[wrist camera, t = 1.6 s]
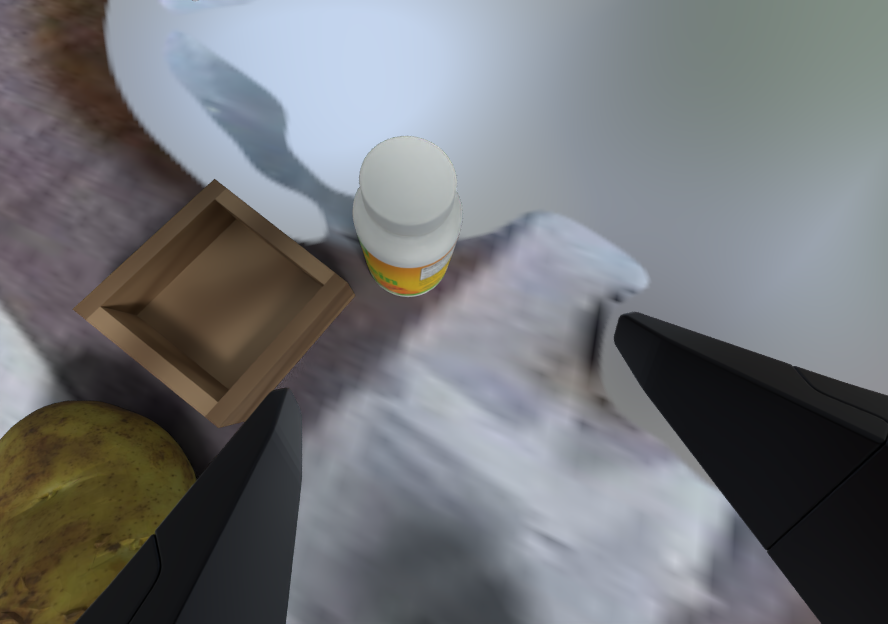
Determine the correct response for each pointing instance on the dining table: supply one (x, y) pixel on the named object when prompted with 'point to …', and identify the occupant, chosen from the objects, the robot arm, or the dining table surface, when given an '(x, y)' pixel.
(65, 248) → the dining table surface
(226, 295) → the open wooden box
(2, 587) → the potato
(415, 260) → the supplement bottle
